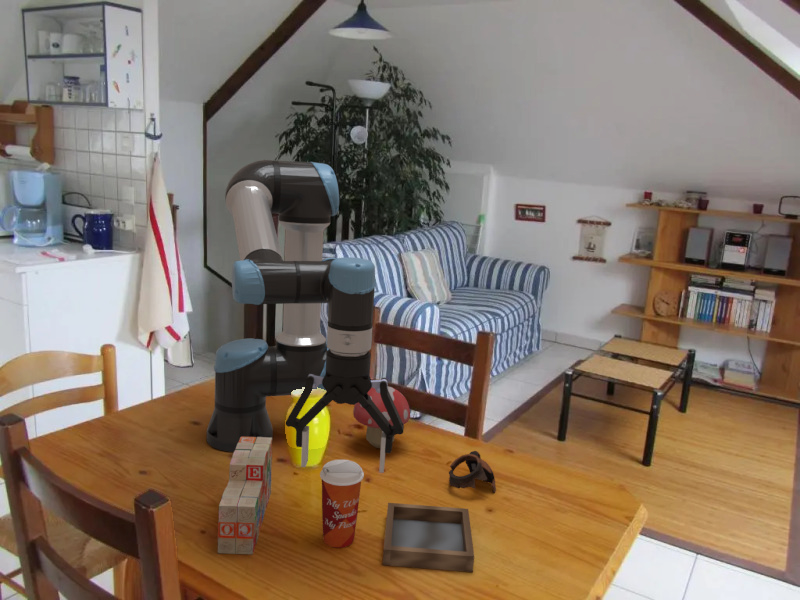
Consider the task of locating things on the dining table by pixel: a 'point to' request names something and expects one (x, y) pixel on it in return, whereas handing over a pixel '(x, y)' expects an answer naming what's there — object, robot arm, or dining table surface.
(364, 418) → the decorative mushroom
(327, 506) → the paper cup
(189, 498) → the dining table surface
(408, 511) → the tray
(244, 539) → the stack of blocks
